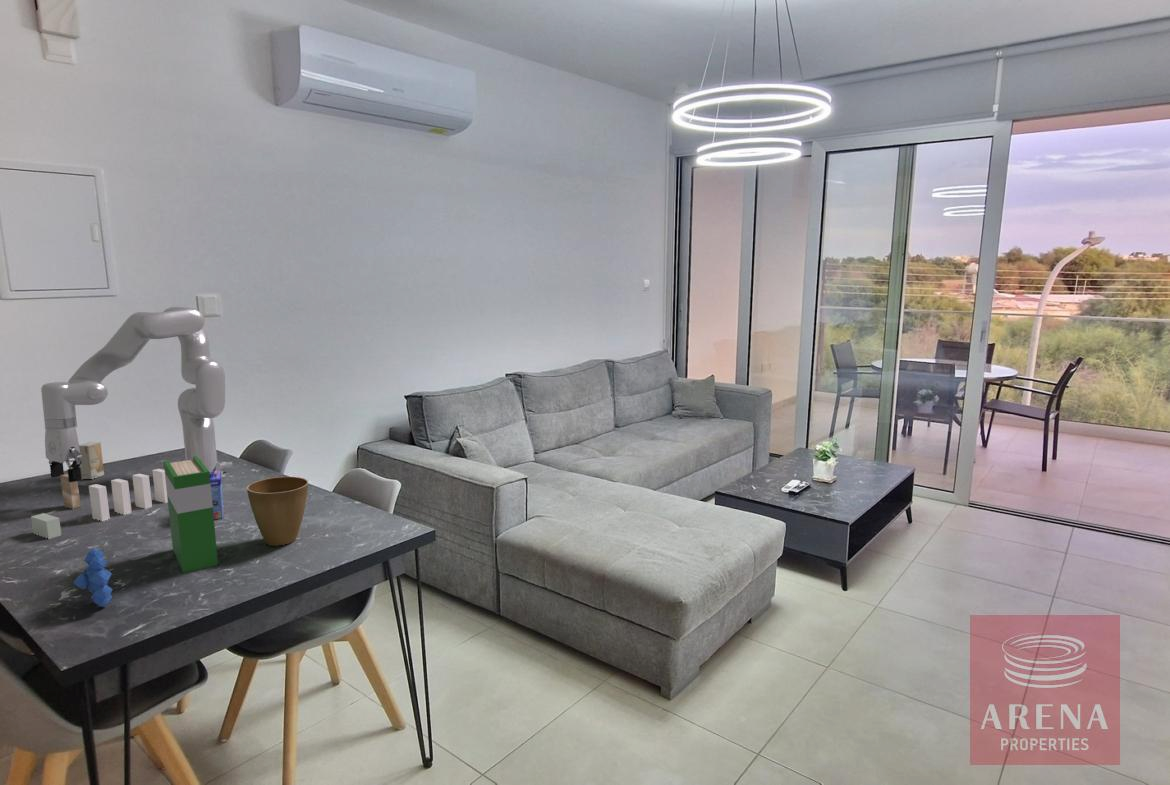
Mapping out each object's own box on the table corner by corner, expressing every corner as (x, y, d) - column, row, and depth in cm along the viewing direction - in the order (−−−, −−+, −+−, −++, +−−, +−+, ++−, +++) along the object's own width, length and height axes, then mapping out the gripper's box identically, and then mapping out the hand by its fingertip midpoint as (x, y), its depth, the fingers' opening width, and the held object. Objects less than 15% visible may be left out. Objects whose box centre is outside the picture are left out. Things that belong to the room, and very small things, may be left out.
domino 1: (71, 504, 204) (67, 473, 202) (80, 507, 202) (76, 476, 200) (64, 506, 202) (60, 475, 200) (73, 509, 200) (69, 477, 198)
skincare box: (91, 480, 228) (87, 446, 226) (79, 480, 228) (75, 445, 226) (105, 474, 235) (101, 441, 233) (93, 474, 235) (89, 441, 233)
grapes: (72, 600, 144) (65, 548, 142) (109, 590, 149) (103, 540, 147) (81, 619, 136) (74, 565, 134) (120, 608, 141) (114, 555, 139)
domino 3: (121, 510, 200) (118, 478, 198) (131, 513, 197) (127, 481, 196) (114, 512, 198) (111, 480, 196) (124, 515, 196) (120, 482, 194)
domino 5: (162, 498, 210) (158, 468, 208) (171, 501, 208) (168, 470, 206) (155, 500, 208) (152, 470, 207) (165, 503, 206) (162, 472, 204)
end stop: (46, 530, 183) (43, 513, 183) (61, 535, 180) (59, 518, 179) (33, 533, 181) (30, 516, 180) (48, 539, 177) (46, 521, 176)
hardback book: (172, 549, 171) (163, 460, 167) (205, 542, 176) (196, 456, 172) (183, 573, 158) (173, 477, 154) (218, 565, 162) (209, 471, 158)
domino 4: (142, 504, 205) (139, 473, 203) (152, 506, 203) (148, 475, 201) (135, 506, 203) (132, 475, 201) (145, 508, 201) (142, 477, 199)
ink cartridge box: (224, 518, 193) (219, 471, 191) (202, 521, 191) (197, 473, 188) (224, 508, 202) (220, 462, 200) (204, 511, 200) (199, 465, 197)
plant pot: (282, 555, 168) (278, 495, 165) (238, 547, 173) (233, 489, 170) (323, 534, 182) (320, 479, 179) (282, 527, 187) (278, 473, 184)
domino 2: (100, 516, 194) (96, 484, 193) (109, 519, 192) (106, 486, 190) (92, 518, 192) (88, 485, 191) (102, 521, 190) (98, 488, 189)
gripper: (30, 422, 198) (36, 477, 200) (62, 429, 190) (67, 486, 193) (59, 418, 204) (65, 471, 207) (91, 424, 197) (96, 479, 199)
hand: (66, 478), depth 200 cm, fingers open, 9 cm apart
